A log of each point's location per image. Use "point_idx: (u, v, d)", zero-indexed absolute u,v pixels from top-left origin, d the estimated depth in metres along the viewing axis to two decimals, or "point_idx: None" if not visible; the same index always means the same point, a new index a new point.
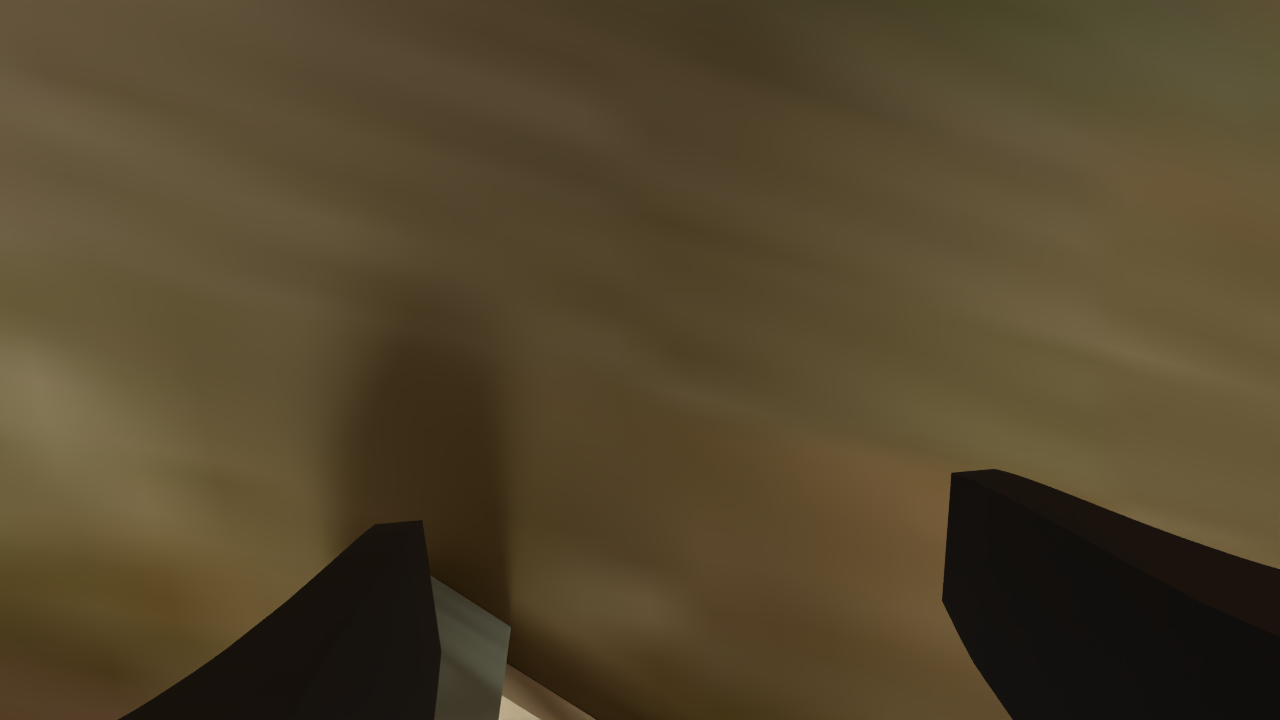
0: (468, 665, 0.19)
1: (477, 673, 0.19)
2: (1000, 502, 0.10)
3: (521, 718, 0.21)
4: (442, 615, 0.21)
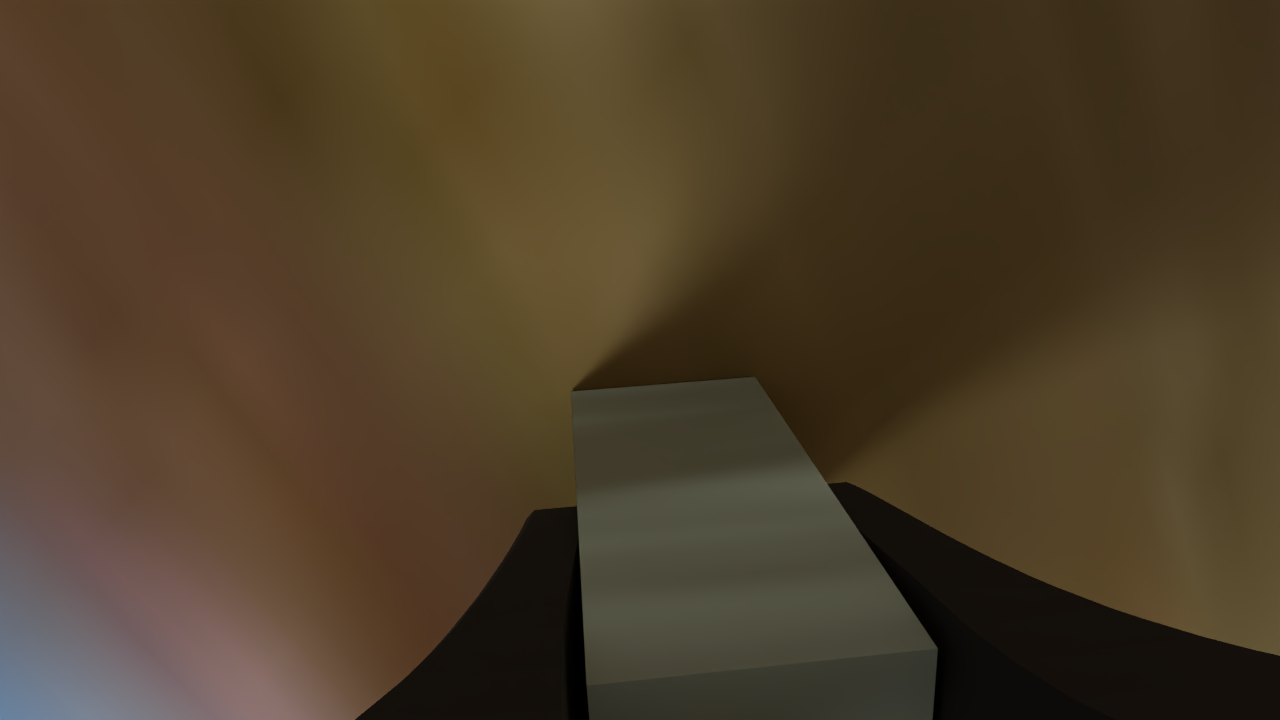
0: None
1: None
2: None
3: None
4: None
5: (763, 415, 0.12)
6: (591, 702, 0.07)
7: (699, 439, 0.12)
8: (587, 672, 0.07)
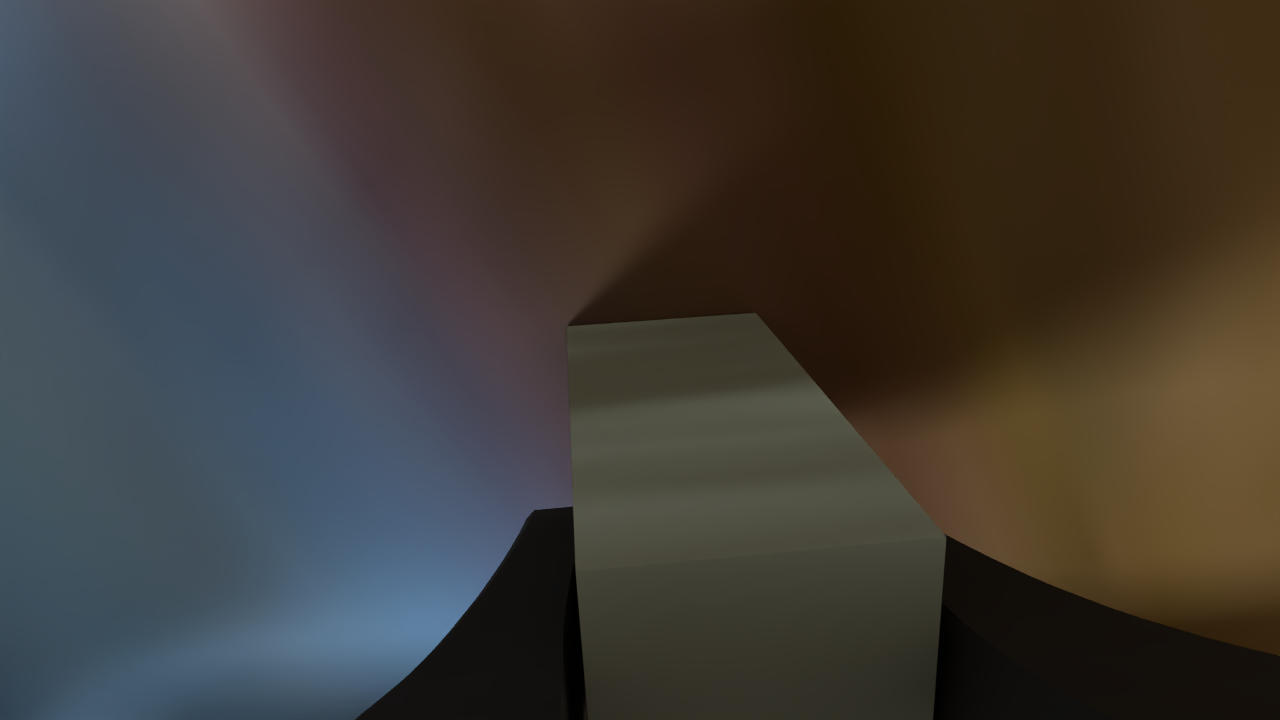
0: None
1: None
2: None
3: None
4: None
5: (764, 344, 0.12)
6: (581, 590, 0.07)
7: (697, 364, 0.11)
8: (577, 560, 0.07)
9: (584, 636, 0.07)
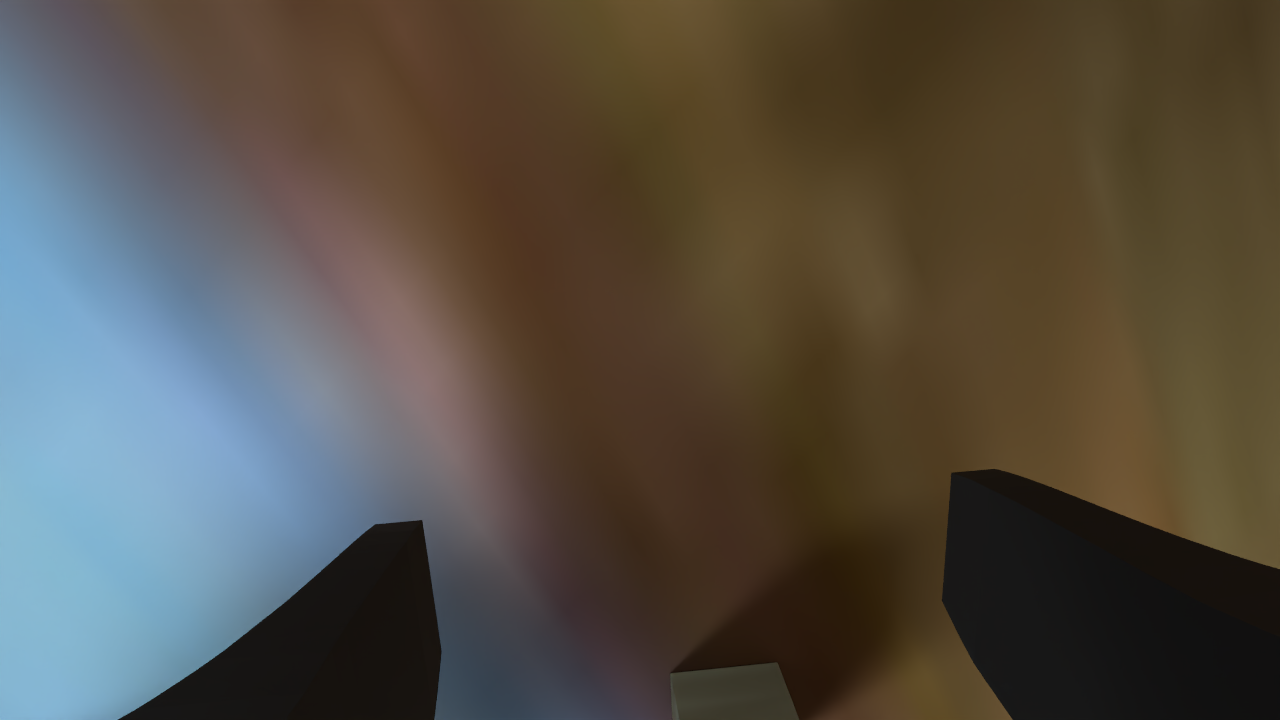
0: None
1: None
2: (1000, 502, 0.10)
3: None
4: None
5: (783, 704, 0.22)
6: None
7: None
8: None
9: None
